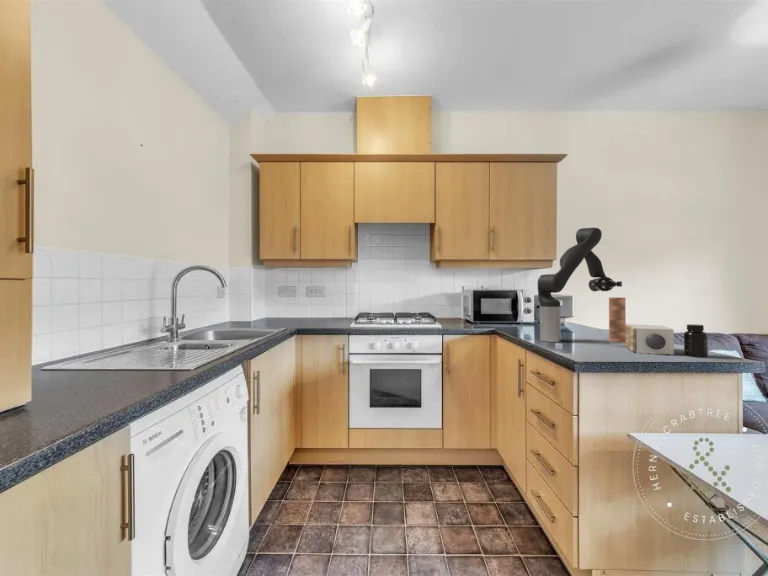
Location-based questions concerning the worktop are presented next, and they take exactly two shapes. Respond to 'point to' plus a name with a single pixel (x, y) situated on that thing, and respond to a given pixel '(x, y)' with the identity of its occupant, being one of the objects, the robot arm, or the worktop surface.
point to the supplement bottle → (695, 341)
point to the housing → (654, 339)
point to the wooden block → (620, 324)
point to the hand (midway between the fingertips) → (610, 284)
